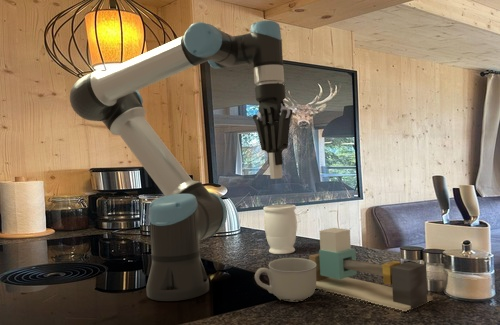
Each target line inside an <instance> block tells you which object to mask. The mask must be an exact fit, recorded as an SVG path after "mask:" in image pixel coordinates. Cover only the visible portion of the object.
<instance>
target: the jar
mask: <svg viewBox="0 0 500 325" xmlns="http://www.w3.org/2000/svg"><path fill="white" fill-rule="evenodd" d="M296 208H297V207H296V205H295V204H285V203H284V204H281V203H280V204H271V205H266V206H263V211H264V212H265V213H264V217H263V218H264V219H263V220H264V221H263V226H264V232H265V237H266V240H267V241H266V242H267V244H268V246H269V247H270V248H269V249H268V252H269V253H270V254H272V255H273V254H275V255H287V254H291V253H294V252H295V251H296V248H295V247H294V245H295V243H296V239H297V230H298V228H297V227H298V222H297V216H296V213H295V210H296Z"/></svg>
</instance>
